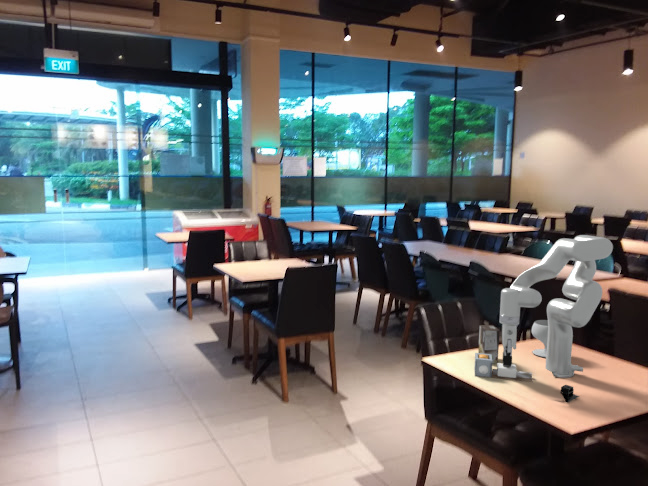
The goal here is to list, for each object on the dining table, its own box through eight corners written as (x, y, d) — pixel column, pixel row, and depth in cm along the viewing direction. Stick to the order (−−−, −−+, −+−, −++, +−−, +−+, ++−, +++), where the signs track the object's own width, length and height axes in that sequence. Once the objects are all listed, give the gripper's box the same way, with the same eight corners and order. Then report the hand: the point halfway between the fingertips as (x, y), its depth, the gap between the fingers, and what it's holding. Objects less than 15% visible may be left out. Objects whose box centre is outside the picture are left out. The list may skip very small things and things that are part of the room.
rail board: (529, 377, 213) (530, 369, 212) (532, 385, 204) (533, 377, 204) (474, 371, 218) (474, 363, 218) (474, 379, 210) (475, 371, 209)
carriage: (514, 373, 213) (516, 348, 211) (516, 378, 207) (517, 352, 206) (496, 371, 214) (498, 346, 213) (497, 376, 209) (499, 350, 207)
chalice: (562, 352, 245) (564, 321, 244) (562, 361, 233) (564, 328, 231) (531, 348, 251) (532, 317, 249) (529, 356, 239) (531, 324, 237)
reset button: (487, 361, 214) (488, 354, 213) (488, 364, 210) (488, 357, 210) (478, 361, 215) (479, 354, 214) (478, 363, 211) (479, 356, 211)
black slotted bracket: (567, 406, 187) (568, 394, 187) (548, 399, 193) (549, 387, 192) (583, 397, 195) (584, 385, 194) (564, 391, 201) (565, 379, 200)
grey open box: (490, 370, 216) (491, 354, 215) (491, 377, 208) (492, 360, 207) (474, 368, 218) (475, 352, 217) (474, 375, 210) (475, 359, 209)
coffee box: (498, 366, 225) (500, 330, 223) (483, 366, 225) (485, 330, 223) (491, 359, 234) (493, 324, 232) (477, 359, 234) (479, 324, 232)
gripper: (521, 325, 199) (518, 371, 201) (517, 315, 215) (515, 357, 217) (500, 323, 201) (498, 369, 203) (498, 313, 217) (496, 356, 219)
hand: (507, 363), depth 210 cm, fingers closed on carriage, 3 cm apart
